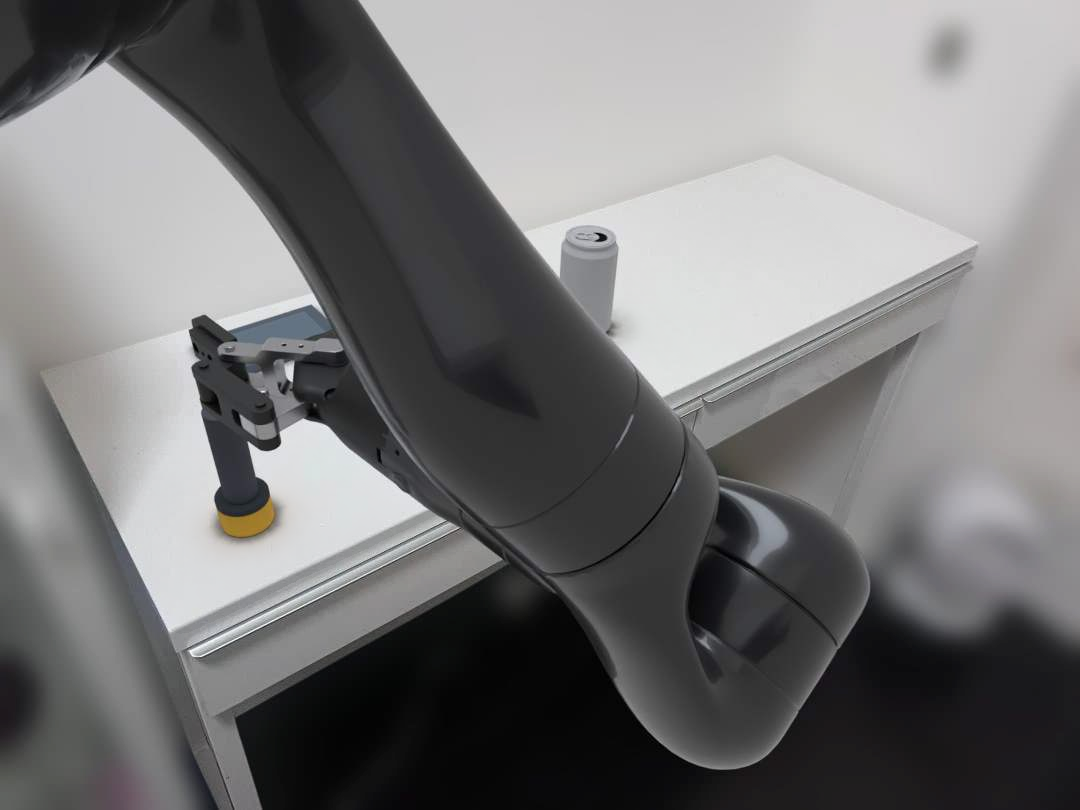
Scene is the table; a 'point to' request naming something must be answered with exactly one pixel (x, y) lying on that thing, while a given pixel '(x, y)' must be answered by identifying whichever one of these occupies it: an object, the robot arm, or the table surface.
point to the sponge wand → (237, 482)
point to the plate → (283, 328)
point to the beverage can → (591, 269)
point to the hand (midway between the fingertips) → (266, 304)
